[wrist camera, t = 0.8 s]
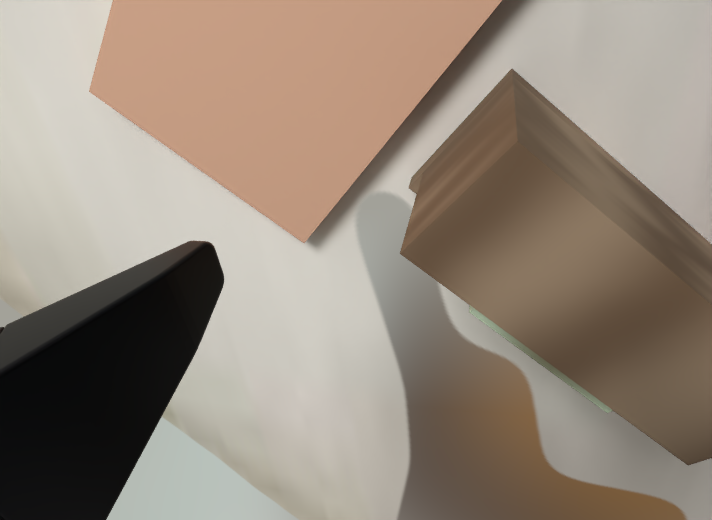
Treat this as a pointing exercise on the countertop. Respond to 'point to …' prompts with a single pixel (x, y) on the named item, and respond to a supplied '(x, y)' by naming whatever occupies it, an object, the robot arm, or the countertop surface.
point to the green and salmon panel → (279, 87)
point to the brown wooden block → (572, 263)
